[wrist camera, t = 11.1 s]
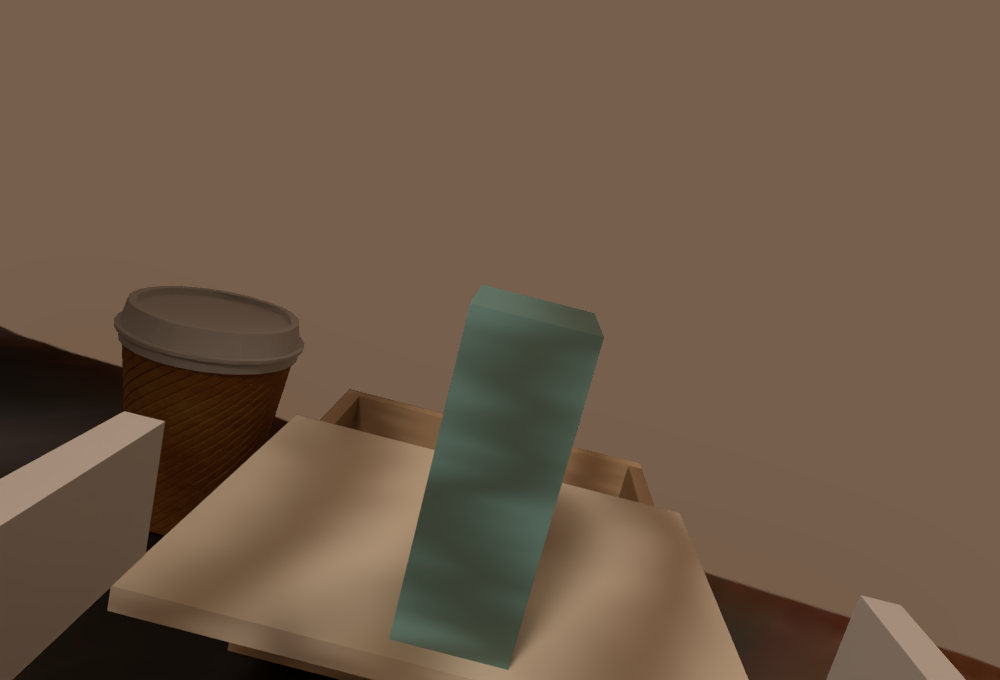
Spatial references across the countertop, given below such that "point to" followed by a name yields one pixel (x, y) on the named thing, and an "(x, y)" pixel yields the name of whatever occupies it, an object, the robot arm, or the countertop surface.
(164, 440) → the disposable coffee cup
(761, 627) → the countertop surface
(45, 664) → the countertop surface
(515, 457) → the lid
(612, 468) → the carton
